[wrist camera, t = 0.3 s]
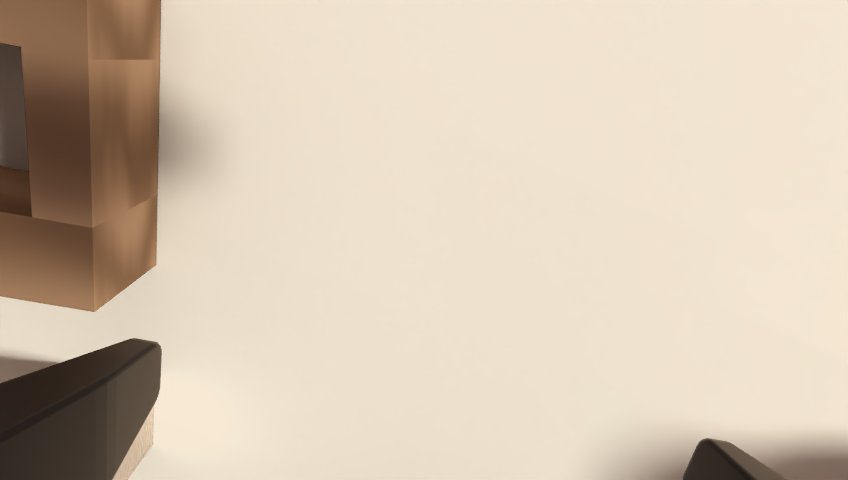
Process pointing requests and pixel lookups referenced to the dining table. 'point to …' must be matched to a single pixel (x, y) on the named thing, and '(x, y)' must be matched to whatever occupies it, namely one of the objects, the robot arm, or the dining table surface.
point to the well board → (82, 150)
